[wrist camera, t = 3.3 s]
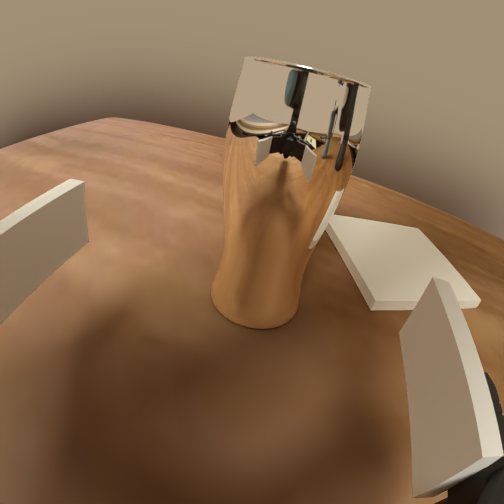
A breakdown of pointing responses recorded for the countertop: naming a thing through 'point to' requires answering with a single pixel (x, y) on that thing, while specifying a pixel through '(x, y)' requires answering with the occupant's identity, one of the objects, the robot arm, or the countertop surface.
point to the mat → (393, 263)
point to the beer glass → (282, 182)
